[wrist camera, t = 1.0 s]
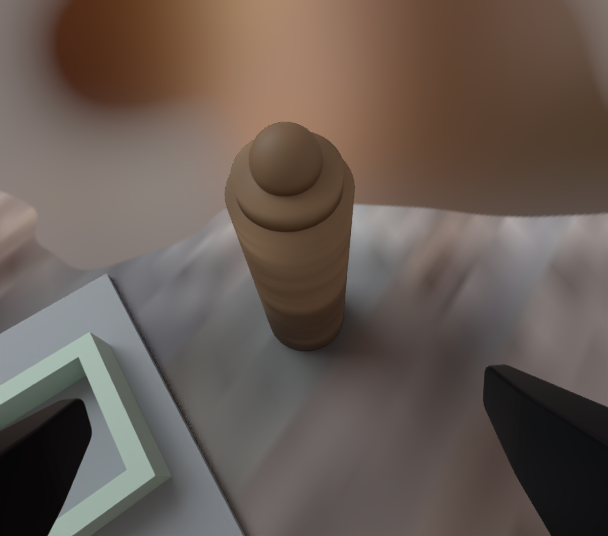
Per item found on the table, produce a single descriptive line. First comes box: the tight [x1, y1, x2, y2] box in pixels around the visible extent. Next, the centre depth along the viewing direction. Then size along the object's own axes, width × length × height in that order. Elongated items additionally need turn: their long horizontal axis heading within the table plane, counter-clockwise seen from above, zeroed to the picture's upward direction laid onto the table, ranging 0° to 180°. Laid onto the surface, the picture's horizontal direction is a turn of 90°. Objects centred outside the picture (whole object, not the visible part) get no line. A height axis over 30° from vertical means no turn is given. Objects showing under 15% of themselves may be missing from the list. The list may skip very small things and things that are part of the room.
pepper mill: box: [225, 122, 355, 351], centre depth 18 cm, size 5×5×14 cm
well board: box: [0, 274, 246, 536], centre depth 20 cm, size 18×12×3 cm, turn 35°
